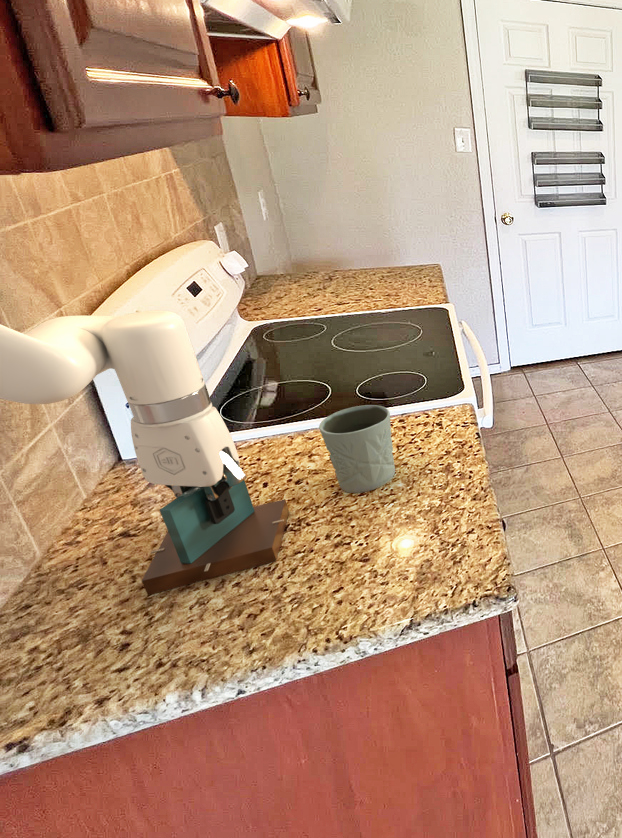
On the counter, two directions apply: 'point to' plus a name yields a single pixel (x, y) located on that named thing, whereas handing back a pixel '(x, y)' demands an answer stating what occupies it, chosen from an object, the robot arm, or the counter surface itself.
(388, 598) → the counter surface
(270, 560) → the frame stand
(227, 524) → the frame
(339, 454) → the drinking glass
